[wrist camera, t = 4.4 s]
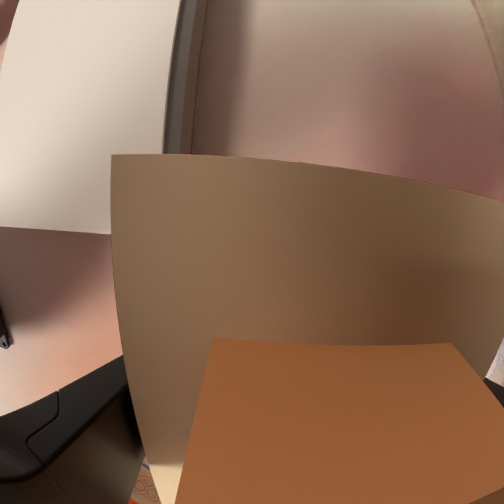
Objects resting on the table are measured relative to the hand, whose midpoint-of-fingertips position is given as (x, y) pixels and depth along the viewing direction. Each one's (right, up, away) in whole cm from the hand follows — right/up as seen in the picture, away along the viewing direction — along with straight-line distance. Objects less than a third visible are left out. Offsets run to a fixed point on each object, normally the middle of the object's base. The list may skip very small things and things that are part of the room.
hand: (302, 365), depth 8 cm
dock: (-11, +13, +7) cm, 18 cm away
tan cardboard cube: (0, -1, -3) cm, 3 cm away
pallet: (0, 0, +1) cm, 1 cm away
